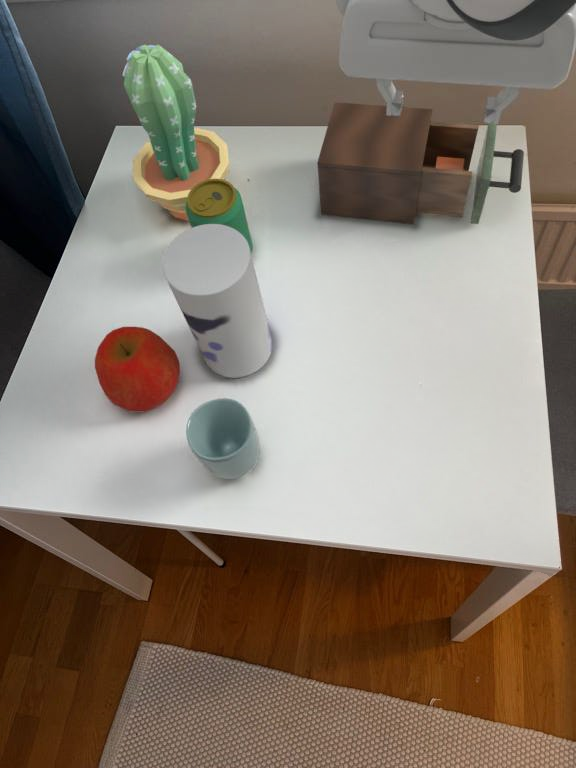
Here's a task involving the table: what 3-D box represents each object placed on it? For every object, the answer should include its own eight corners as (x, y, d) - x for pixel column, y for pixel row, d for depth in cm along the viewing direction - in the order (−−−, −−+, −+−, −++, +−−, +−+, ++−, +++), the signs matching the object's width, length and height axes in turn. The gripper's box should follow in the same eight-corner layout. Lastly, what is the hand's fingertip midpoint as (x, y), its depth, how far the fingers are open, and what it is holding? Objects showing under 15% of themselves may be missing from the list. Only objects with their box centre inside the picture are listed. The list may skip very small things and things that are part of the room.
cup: (211, 494, 73) (192, 469, 64) (199, 438, 77) (179, 408, 68) (271, 476, 73) (259, 449, 64) (256, 422, 77) (243, 389, 68)
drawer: (515, 171, 90) (530, 124, 83) (510, 227, 86) (526, 182, 78) (399, 161, 94) (403, 114, 86) (388, 214, 89) (391, 170, 81)
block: (460, 179, 89) (464, 158, 86) (457, 198, 88) (461, 178, 84) (433, 176, 90) (437, 156, 87) (430, 195, 88) (433, 175, 85)
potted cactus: (246, 166, 98) (215, 18, 76) (229, 238, 91) (189, 98, 69) (160, 164, 100) (104, 19, 78) (137, 233, 94) (69, 97, 72)
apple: (198, 362, 82) (178, 322, 72) (163, 430, 78) (137, 396, 68) (133, 341, 84) (105, 300, 75) (96, 405, 80) (62, 369, 71)
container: (193, 369, 81) (147, 284, 64) (217, 311, 85) (181, 216, 68) (260, 385, 79) (232, 301, 61) (281, 324, 83) (261, 230, 65)
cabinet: (424, 165, 94) (432, 108, 85) (414, 224, 89) (421, 171, 79) (336, 157, 97) (334, 102, 87) (321, 214, 92) (317, 162, 82)
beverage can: (264, 253, 89) (251, 196, 79) (223, 283, 88) (205, 228, 77) (233, 225, 93) (217, 166, 82) (193, 253, 91) (171, 197, 80)
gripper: (328, -16, 46) (333, 129, 58) (602, -8, 42) (546, 146, 55) (343, -61, 49) (345, 87, 61) (603, -56, 45) (549, 100, 57)
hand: (441, 115), depth 58 cm, fingers open, 8 cm apart
